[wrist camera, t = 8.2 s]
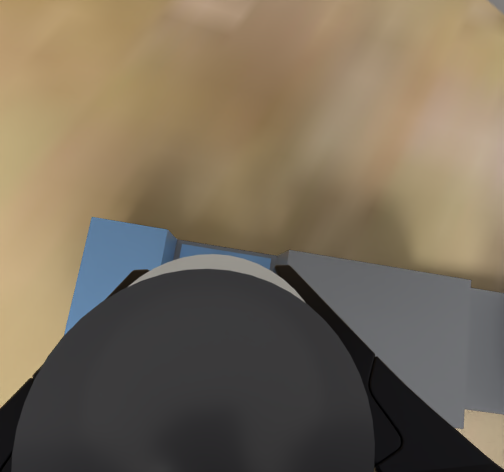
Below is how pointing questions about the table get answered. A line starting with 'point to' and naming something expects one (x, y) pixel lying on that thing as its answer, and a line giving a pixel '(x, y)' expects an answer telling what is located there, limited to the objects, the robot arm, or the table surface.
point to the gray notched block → (347, 311)
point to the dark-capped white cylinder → (198, 381)
